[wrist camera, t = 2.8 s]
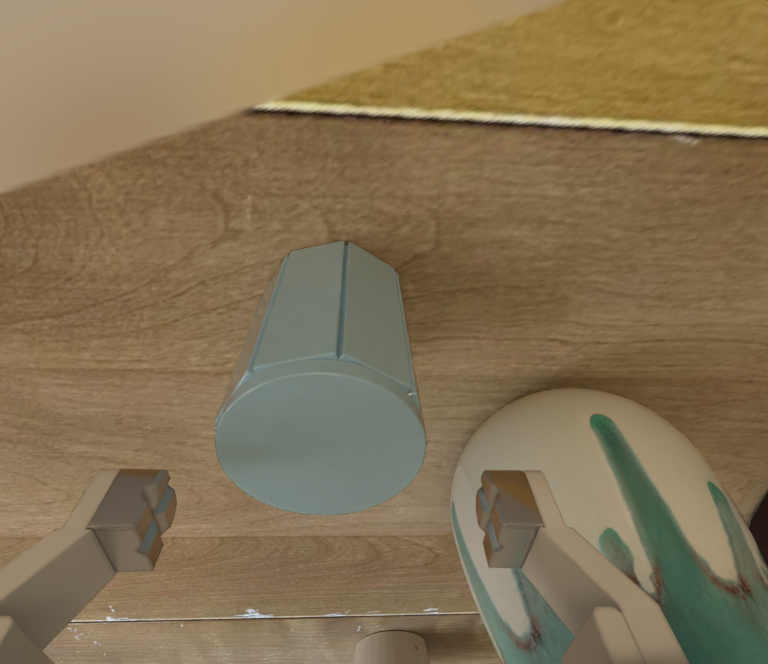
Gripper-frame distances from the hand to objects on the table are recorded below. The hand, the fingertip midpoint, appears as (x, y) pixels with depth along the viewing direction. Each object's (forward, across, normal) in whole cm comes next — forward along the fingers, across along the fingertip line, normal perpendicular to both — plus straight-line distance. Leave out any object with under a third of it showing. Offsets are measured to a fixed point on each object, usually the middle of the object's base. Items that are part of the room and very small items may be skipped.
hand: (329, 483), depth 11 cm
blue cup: (+9, 0, 0) cm, 9 cm away
